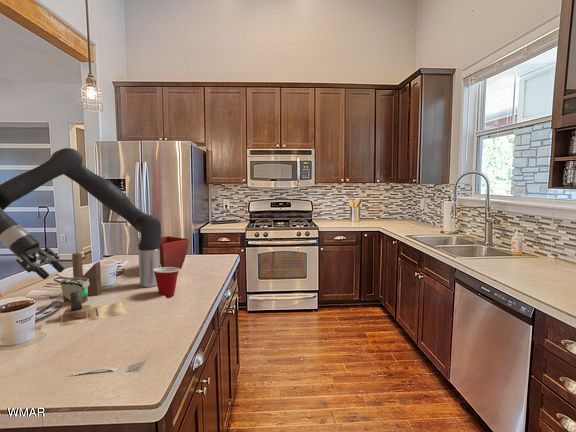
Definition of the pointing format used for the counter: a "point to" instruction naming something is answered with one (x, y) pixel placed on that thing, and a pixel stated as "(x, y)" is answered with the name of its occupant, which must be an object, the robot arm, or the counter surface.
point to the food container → (75, 288)
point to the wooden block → (87, 274)
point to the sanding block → (76, 308)
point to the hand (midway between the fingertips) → (55, 273)
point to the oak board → (98, 313)
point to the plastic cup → (166, 280)
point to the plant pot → (173, 251)
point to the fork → (114, 368)
